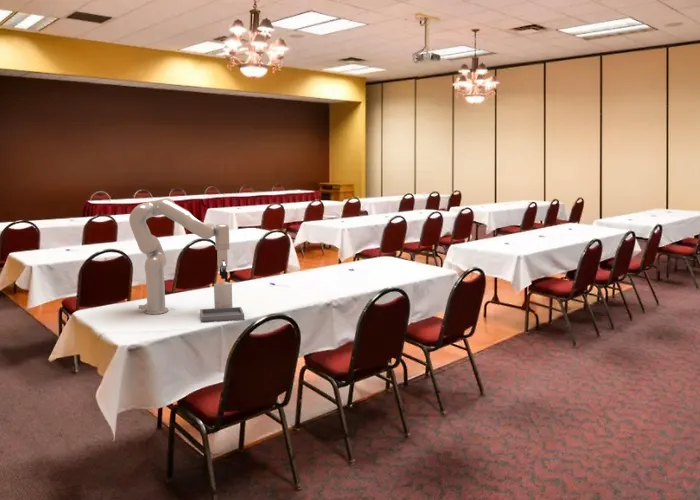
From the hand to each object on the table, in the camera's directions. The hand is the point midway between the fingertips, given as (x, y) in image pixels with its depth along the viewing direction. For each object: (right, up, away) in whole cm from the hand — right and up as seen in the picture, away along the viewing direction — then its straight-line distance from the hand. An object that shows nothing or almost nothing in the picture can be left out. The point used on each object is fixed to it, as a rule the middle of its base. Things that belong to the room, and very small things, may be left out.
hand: (223, 277), depth 341 cm
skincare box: (0, -19, +3) cm, 19 cm away
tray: (+2, -21, -11) cm, 24 cm away
